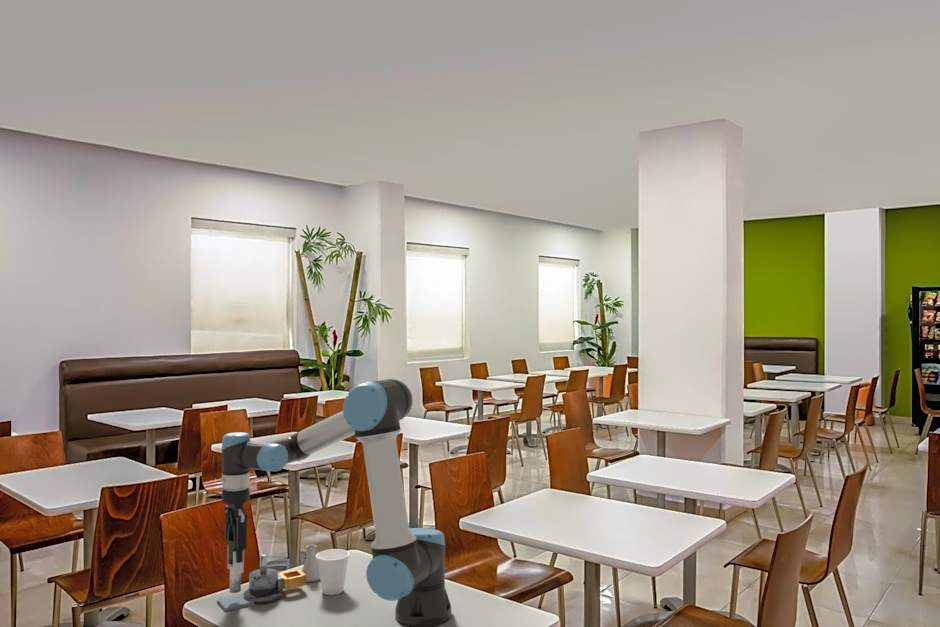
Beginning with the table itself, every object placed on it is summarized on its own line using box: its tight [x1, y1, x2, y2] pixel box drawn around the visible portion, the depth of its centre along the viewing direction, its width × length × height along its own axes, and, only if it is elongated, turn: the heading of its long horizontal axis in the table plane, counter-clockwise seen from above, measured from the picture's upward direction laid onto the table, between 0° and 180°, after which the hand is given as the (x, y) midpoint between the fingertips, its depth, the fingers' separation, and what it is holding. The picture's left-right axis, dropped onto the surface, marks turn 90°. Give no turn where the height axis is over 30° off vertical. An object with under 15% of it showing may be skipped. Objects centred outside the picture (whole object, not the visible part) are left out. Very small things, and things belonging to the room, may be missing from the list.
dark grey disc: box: [243, 588, 284, 605], centre depth 204 cm, size 11×11×2 cm
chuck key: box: [227, 539, 242, 594], centre depth 199 cm, size 4×4×14 cm
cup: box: [316, 548, 351, 596], centre depth 208 cm, size 10×10×11 cm
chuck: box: [248, 553, 307, 596], centre depth 206 cm, size 16×8×10 cm, turn 124°
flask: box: [301, 544, 321, 583], centre depth 219 cm, size 7×7×10 cm
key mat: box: [216, 592, 255, 612], centre depth 199 cm, size 8×8×1 cm
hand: (235, 570), depth 199 cm, fingers closed on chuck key, 5 cm apart
